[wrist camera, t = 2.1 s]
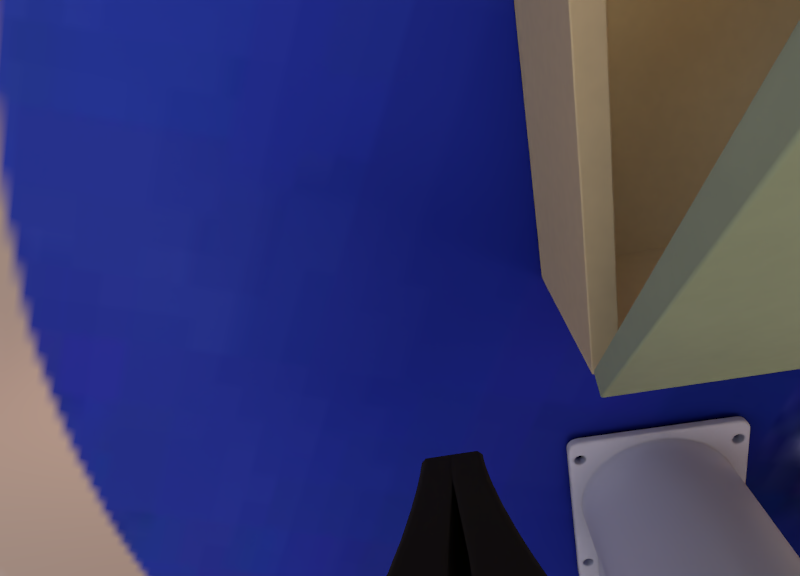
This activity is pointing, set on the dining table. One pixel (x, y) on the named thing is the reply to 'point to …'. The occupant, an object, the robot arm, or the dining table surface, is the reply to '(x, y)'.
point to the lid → (726, 261)
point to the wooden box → (630, 133)
